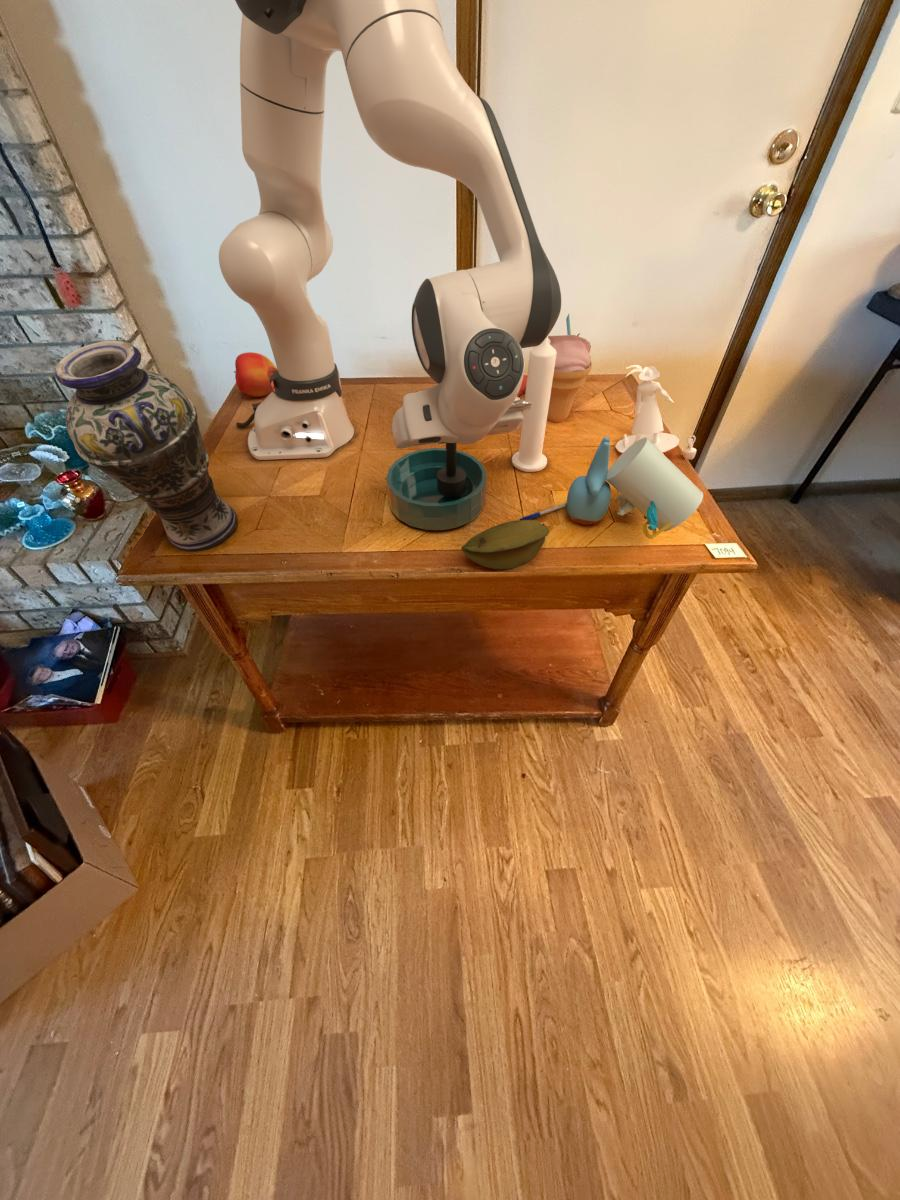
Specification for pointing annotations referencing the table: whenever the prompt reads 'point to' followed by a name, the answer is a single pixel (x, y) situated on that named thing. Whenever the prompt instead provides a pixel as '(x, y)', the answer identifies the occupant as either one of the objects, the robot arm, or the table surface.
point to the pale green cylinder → (653, 488)
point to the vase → (144, 440)
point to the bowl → (434, 490)
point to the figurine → (651, 416)
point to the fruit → (507, 544)
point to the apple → (253, 374)
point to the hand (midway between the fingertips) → (449, 437)
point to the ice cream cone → (567, 372)
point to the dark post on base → (451, 475)
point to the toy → (591, 489)
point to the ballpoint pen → (543, 512)
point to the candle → (536, 408)
